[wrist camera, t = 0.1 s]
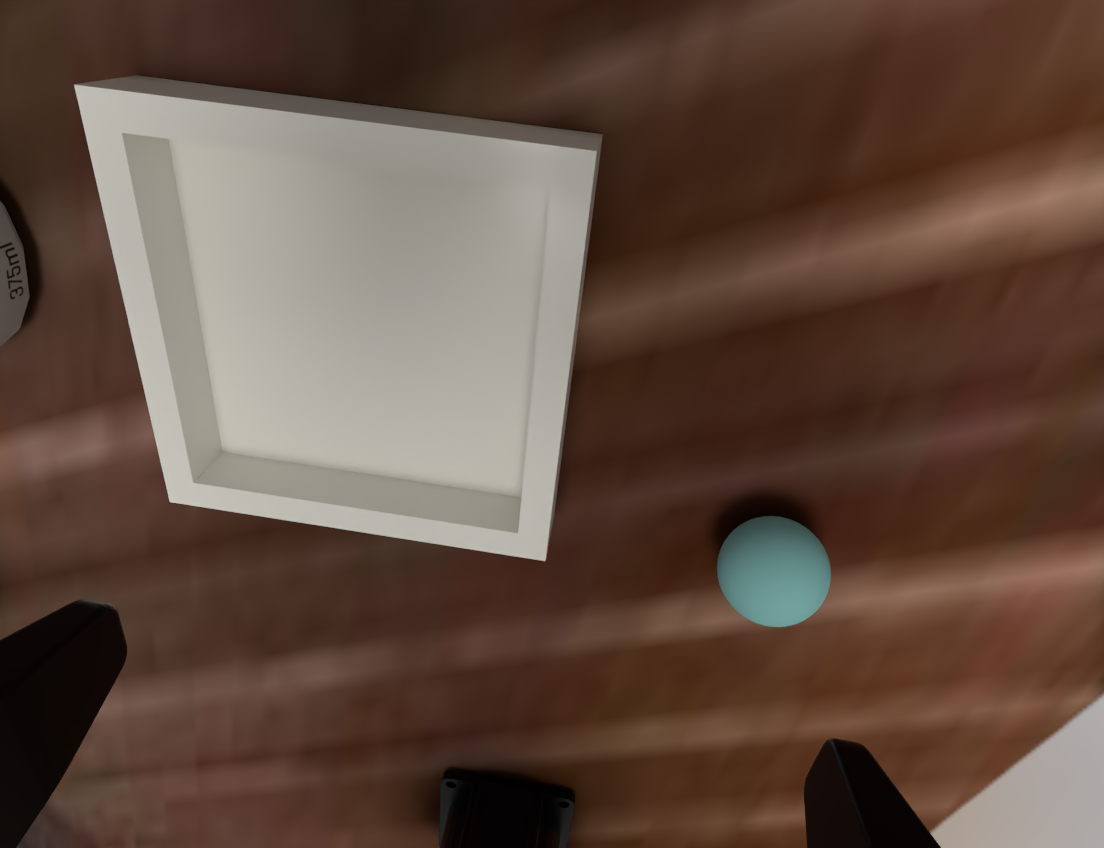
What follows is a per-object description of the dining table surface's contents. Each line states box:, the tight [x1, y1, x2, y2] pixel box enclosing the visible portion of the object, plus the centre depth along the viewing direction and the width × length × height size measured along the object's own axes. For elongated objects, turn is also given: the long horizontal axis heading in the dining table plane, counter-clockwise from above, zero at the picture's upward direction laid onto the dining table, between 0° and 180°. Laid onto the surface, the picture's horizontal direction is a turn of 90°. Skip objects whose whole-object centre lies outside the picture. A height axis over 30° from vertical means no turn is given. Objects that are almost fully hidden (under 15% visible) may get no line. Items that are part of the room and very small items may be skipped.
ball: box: [717, 516, 831, 627], centre depth 24 cm, size 4×4×4 cm
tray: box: [74, 76, 603, 561], centre depth 22 cm, size 13×13×2 cm
